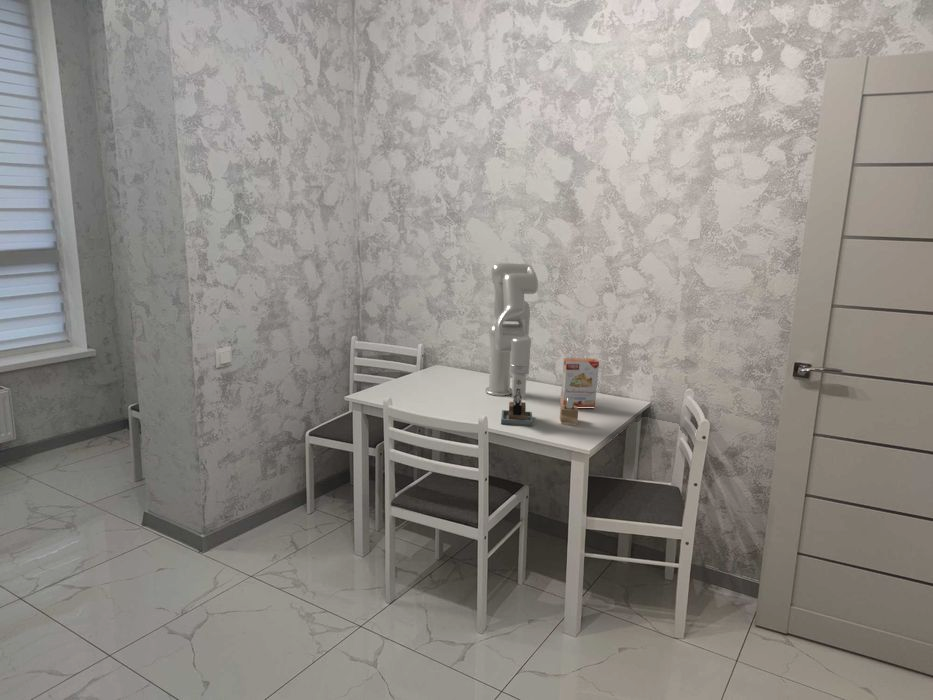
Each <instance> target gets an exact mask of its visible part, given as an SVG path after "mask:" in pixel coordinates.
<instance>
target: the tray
mask: <svg viewBox="0 0 933 700" xmlns="http://www.w3.org/2000/svg"><path fill="white" fill-rule="evenodd" d="M500 420H501V421H500V425H507V426H509V425H510V426H523V427H524V426H526V427H533V412H532V411H527V410H526V411H525V420H514V419H509V409H508V410H507V409H502V410H501V418H500Z"/></svg>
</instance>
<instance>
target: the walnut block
mask: <svg viewBox="0 0 933 700" xmlns="http://www.w3.org/2000/svg"><path fill="white" fill-rule="evenodd" d="M513 405H514V402H513V401H509V402H508V410H509V419H514V420H525V411H527V410H526V409H527V406H526V402H523V401H521V405H522V410H521V415H513ZM515 405H516V404H515Z"/></svg>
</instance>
